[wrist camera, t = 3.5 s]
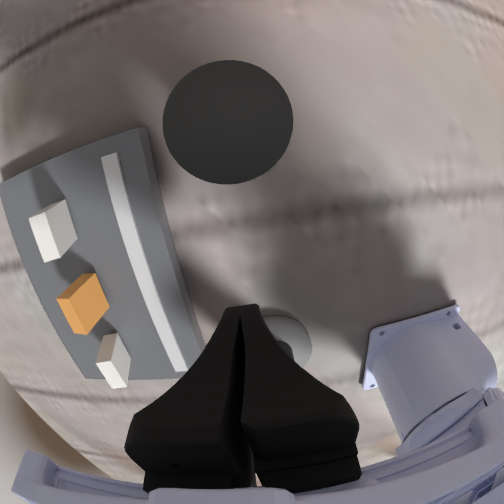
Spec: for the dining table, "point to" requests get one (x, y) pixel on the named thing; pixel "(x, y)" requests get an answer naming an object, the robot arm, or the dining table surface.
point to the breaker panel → (110, 254)
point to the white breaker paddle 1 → (53, 230)
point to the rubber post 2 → (291, 337)
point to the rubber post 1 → (227, 122)
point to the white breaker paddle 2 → (114, 361)
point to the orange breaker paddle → (83, 303)
